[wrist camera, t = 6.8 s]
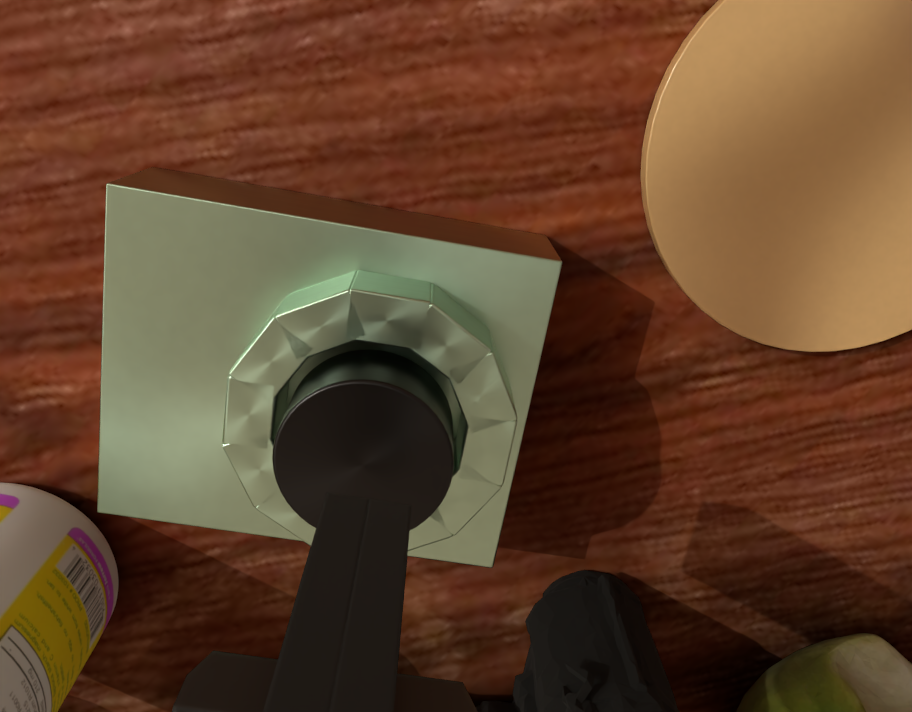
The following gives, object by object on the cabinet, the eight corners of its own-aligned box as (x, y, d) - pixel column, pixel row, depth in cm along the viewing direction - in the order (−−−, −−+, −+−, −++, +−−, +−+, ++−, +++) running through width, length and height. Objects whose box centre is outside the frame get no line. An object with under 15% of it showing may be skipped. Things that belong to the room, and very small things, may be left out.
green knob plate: (546, 235, 22) (574, 280, 18) (486, 509, 26) (497, 609, 21) (152, 166, 22) (72, 194, 17) (138, 458, 25) (67, 550, 20)
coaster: (1114, -21, 20) (1133, -24, 20) (950, 372, 24) (962, 379, 24) (703, -108, 20) (711, -113, 19) (598, 313, 23) (602, 319, 23)
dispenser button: (466, 362, 19) (469, 396, 17) (437, 507, 20) (437, 554, 18) (297, 335, 19) (281, 366, 17) (280, 484, 20) (263, 529, 18)
